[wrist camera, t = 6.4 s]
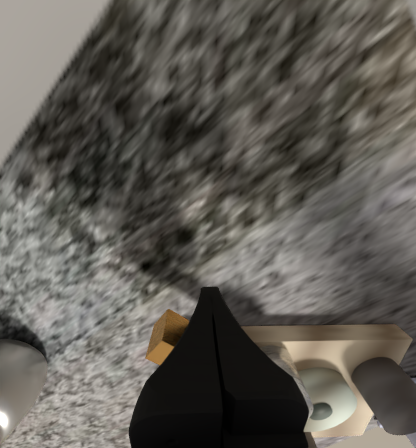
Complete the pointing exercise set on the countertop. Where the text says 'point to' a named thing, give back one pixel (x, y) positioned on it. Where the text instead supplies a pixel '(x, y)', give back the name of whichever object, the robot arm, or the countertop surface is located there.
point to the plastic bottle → (19, 382)
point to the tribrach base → (348, 375)
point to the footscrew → (174, 328)
